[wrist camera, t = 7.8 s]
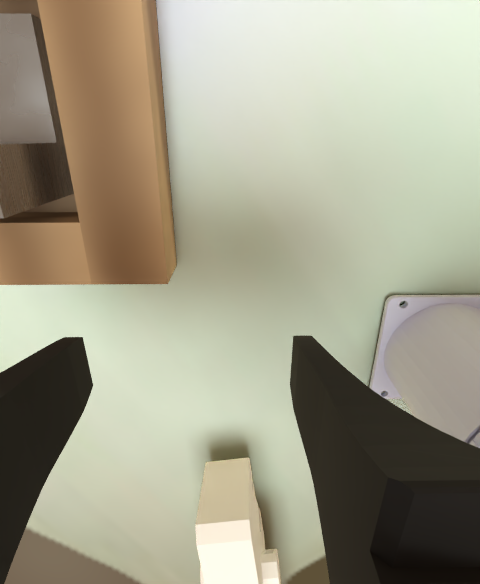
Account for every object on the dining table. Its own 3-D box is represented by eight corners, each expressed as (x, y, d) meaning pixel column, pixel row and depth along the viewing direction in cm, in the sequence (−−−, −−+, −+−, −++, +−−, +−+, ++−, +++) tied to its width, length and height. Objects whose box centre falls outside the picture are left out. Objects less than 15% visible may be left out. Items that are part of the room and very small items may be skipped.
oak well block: (147, -99, 14) (127, -155, 12) (176, 264, 21) (167, 283, 18) (-194, -101, 14) (-296, -158, 12) (-57, 265, 21) (-101, 285, 18)
